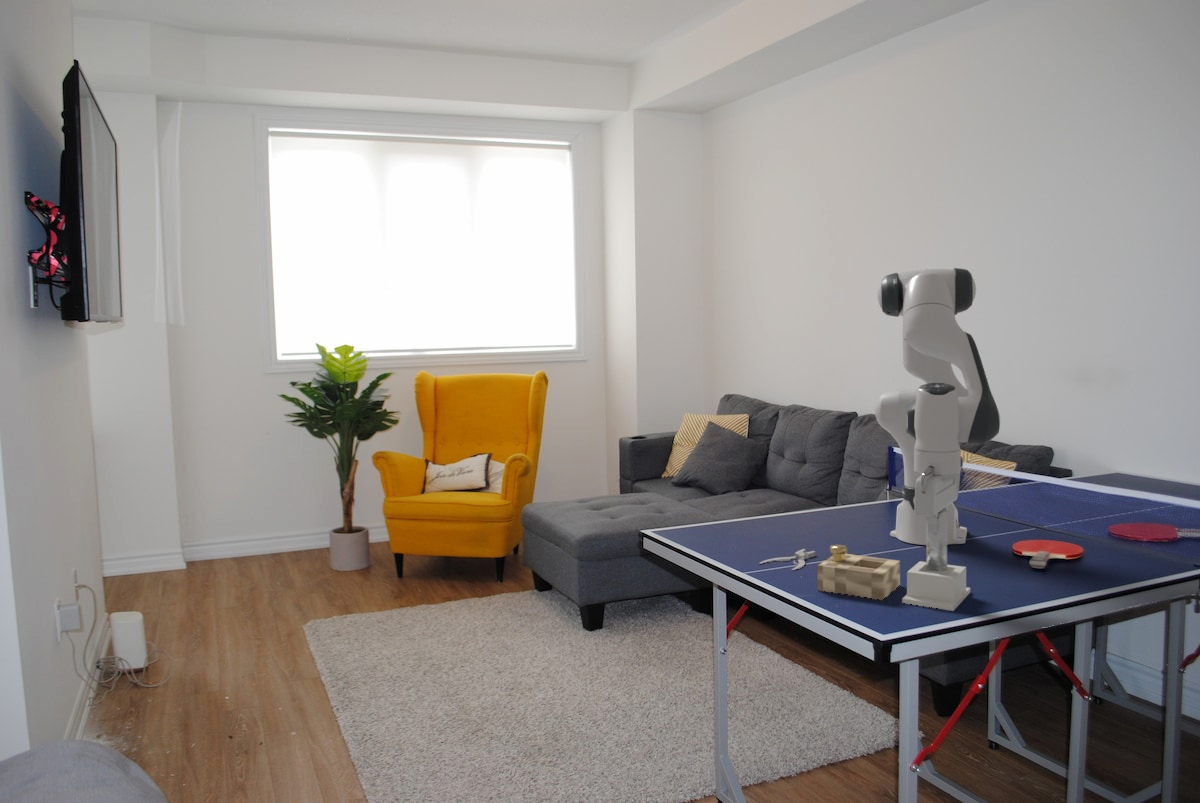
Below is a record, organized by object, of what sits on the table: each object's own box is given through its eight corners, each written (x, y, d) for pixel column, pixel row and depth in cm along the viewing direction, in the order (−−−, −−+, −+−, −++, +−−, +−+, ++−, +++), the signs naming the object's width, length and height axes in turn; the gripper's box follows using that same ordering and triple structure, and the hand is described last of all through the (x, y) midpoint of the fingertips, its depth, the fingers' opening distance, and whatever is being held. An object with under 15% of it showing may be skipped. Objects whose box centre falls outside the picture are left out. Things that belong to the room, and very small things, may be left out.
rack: (921, 585, 196) (921, 558, 196) (970, 592, 191) (970, 564, 190) (902, 603, 185) (902, 574, 184) (953, 611, 179) (953, 581, 179)
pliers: (758, 559, 217) (792, 546, 228) (758, 565, 217) (792, 552, 228) (793, 566, 210) (827, 552, 221) (793, 572, 210) (827, 559, 221)
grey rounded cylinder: (929, 564, 190) (929, 508, 189) (949, 567, 188) (949, 510, 187) (924, 569, 187) (924, 512, 186) (944, 572, 184) (944, 514, 183)
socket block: (837, 576, 205) (837, 552, 204) (900, 585, 197) (900, 560, 196) (817, 590, 195) (817, 565, 195) (882, 600, 187) (882, 574, 187)
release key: (833, 580, 201) (833, 543, 200) (849, 582, 199) (849, 545, 198) (827, 584, 198) (827, 547, 197) (843, 586, 196) (843, 549, 195)
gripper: (939, 472, 175) (939, 542, 176) (965, 457, 192) (964, 521, 193) (906, 469, 179) (906, 538, 180) (934, 455, 195) (934, 518, 196)
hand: (936, 529), depth 186 cm, fingers closed on grey rounded cylinder, 4 cm apart
